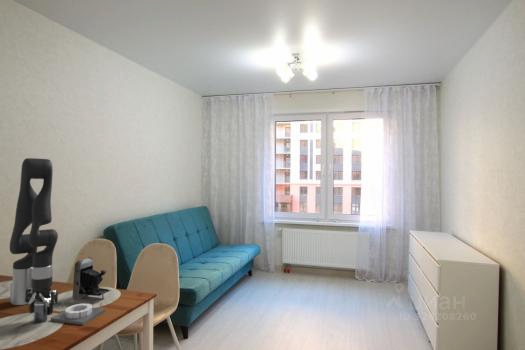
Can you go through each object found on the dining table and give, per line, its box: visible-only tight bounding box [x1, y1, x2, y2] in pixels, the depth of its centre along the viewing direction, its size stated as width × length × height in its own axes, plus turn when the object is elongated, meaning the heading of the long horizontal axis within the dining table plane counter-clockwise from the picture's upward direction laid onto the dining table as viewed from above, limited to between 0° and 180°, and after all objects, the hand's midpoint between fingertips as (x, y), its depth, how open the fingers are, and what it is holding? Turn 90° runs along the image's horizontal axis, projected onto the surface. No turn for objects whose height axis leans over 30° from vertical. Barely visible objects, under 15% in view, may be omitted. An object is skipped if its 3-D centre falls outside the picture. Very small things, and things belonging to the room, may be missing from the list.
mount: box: [50, 303, 106, 326], centre depth 146 cm, size 16×14×4 cm
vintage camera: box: [72, 256, 111, 300], centre depth 167 cm, size 10×16×20 cm, turn 79°
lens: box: [33, 298, 49, 324], centre depth 140 cm, size 5×5×9 cm
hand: (40, 313), depth 140 cm, fingers open, 8 cm apart
